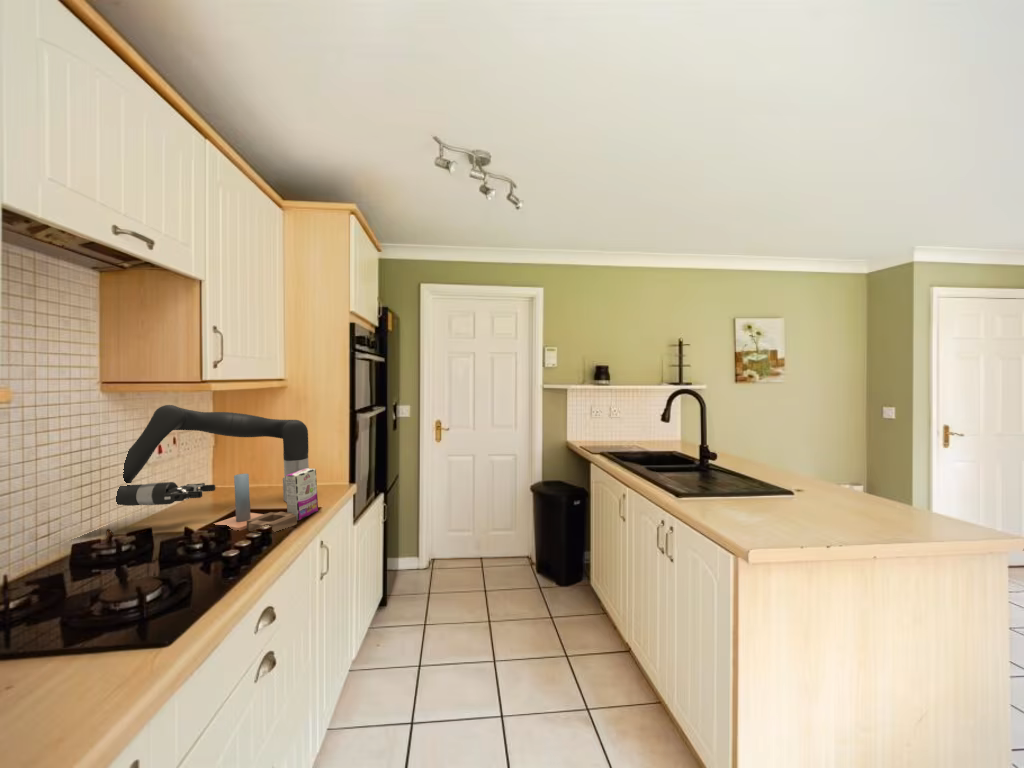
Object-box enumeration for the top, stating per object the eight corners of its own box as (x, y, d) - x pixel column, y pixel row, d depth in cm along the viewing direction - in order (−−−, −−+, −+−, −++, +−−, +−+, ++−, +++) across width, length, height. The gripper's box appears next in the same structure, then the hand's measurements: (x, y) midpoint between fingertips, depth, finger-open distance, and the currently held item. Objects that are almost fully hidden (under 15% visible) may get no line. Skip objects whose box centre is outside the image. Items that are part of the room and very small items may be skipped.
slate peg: (233, 521, 156) (231, 476, 156) (244, 517, 161) (242, 473, 160) (241, 522, 155) (239, 477, 154) (253, 518, 159) (251, 474, 158)
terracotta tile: (213, 526, 154) (213, 523, 154) (247, 514, 166) (247, 512, 166) (239, 530, 149) (239, 527, 149) (272, 518, 161) (272, 515, 161)
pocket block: (242, 530, 149) (242, 522, 149) (274, 519, 161) (274, 510, 160) (269, 535, 144) (268, 526, 144) (300, 522, 156) (300, 514, 156)
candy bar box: (307, 510, 170) (305, 468, 169) (318, 511, 169) (316, 468, 168) (286, 520, 159) (284, 475, 158) (298, 521, 158) (296, 475, 157)
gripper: (143, 488, 146) (196, 485, 149) (169, 478, 160) (218, 475, 163) (144, 510, 146) (197, 507, 149) (170, 498, 161) (219, 495, 163)
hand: (208, 490), depth 156 cm, fingers open, 8 cm apart
